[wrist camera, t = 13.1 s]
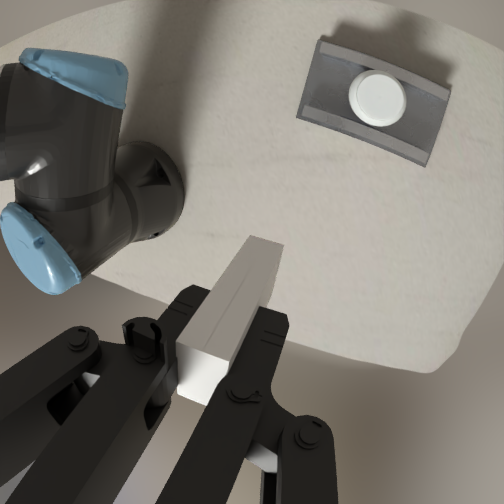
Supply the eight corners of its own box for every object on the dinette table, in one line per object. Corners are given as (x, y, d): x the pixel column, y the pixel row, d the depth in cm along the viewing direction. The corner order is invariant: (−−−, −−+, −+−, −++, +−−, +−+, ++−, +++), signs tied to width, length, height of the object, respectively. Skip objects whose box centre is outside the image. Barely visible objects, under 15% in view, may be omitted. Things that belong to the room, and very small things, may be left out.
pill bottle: (359, 69, 27) (360, 55, 19) (403, 89, 27) (421, 83, 19) (342, 110, 30) (338, 111, 22) (386, 130, 30) (398, 140, 22)
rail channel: (297, 117, 33) (290, 118, 30) (318, 40, 28) (314, 33, 25) (423, 166, 31) (430, 173, 27) (449, 91, 25) (459, 90, 22)
